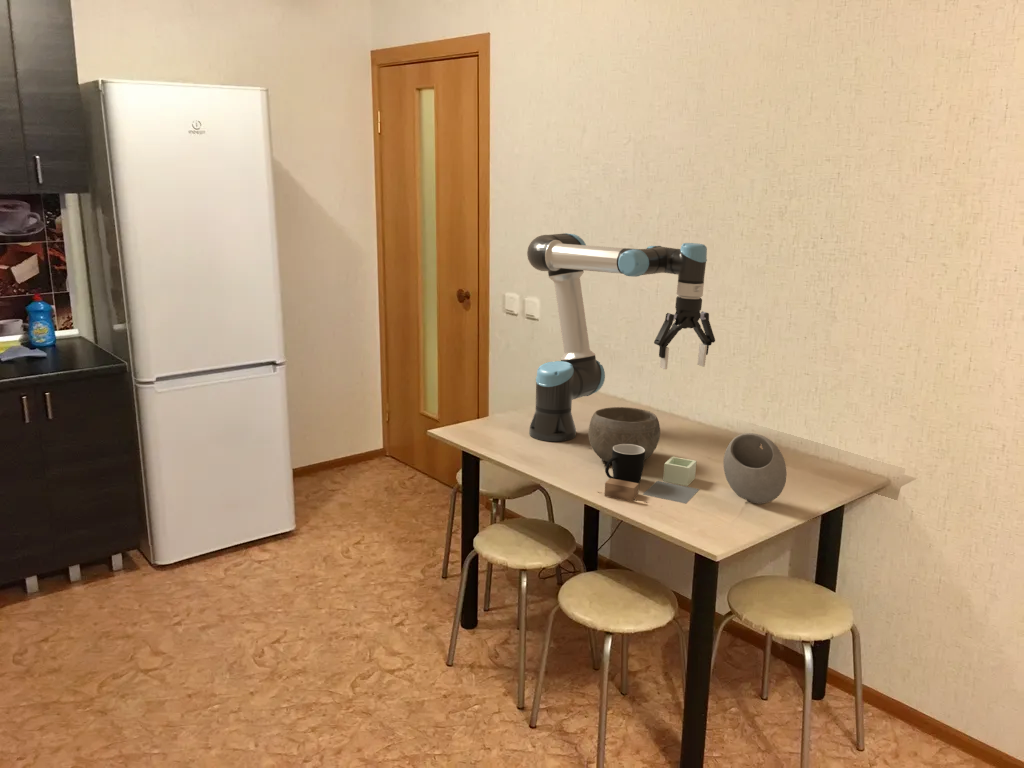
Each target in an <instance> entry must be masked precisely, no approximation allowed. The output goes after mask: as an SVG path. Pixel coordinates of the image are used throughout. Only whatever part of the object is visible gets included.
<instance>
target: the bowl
mask: <svg viewBox="0 0 1024 768" xmlns="http://www.w3.org/2000/svg"><path fill="white" fill-rule="evenodd" d="M587 434H588V442H589V444H590V447H591V449H592V450H593V452H594V453H595V454H596V455H597V456H598V458H599V459H602V461H604V462H606V463H607V462H608V461H609V460H610V459H611V458H612V449H613V447H614V446H615V445H619V444H633V445H638V446H641V447H643V448H644V449H645V459H644V461H646V460H647V459H648V458H650V457H651V455H653V453H654V452H655V450H656V448H657V445H658V443H659V441H660V436H661V425H660V421H659V419H658V416H657V415H656V414H655V413H654V412H651V411H649V410H646V409H641V408H636V407H627V406H625V407H624V406H617V407H616V406H614V407H613V406H612V407H604V408H600V409H597V410H595V411H594V413H593V414H592V416H591V419H590V421H589V426H588V433H587Z"/></svg>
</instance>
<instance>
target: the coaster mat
mask: <svg viewBox="0 0 1024 768" xmlns="http://www.w3.org/2000/svg"><path fill="white" fill-rule="evenodd" d="M699 490H700V489H699V488H696V487H690V486H684V485H679V484H674V483H669V482H664V481H663V480H661V481H660V480H656V481H655V482H654V483H653V484H652V485H651V486H650V487H649V488H648V489H646V491H644V492H643V493H642V495H644V496H648V497H652V498H653V497H654V498H656V499H657V498H658V499H663V500H667V501H672V502H677V503H680V504H688V502H689V501H691V499H692V498H694V496H695V495H696V493H698V492H699Z"/></svg>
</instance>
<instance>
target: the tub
mask: <svg viewBox="0 0 1024 768" xmlns="http://www.w3.org/2000/svg"><path fill="white" fill-rule="evenodd" d="M696 470H697V460H694V459H687V458H682V457H679V456H678V457H677V456H671V457H669V459H667V461H665V463H664V464H663V475H662V476H663V478H662V482H667V483H671V484H676V485H681V486H686V487H689V485H690V484H691V483H692V482H693V481H694V480H695V479H696Z"/></svg>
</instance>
